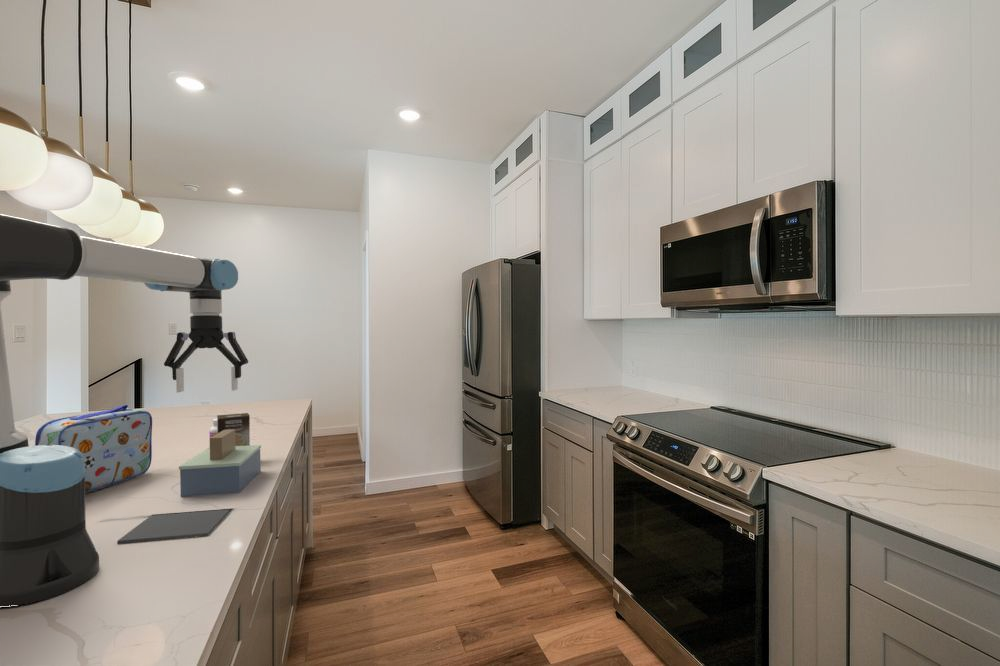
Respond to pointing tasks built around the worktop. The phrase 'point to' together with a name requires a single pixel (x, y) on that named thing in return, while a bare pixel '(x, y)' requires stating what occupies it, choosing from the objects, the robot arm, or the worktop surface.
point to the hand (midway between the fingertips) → (207, 390)
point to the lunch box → (105, 443)
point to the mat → (175, 526)
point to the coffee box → (236, 427)
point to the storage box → (219, 478)
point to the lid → (221, 453)
